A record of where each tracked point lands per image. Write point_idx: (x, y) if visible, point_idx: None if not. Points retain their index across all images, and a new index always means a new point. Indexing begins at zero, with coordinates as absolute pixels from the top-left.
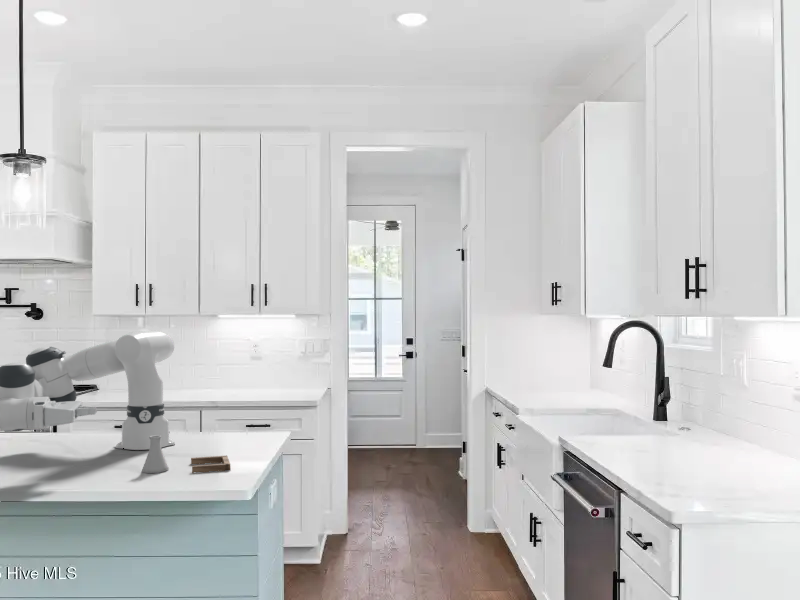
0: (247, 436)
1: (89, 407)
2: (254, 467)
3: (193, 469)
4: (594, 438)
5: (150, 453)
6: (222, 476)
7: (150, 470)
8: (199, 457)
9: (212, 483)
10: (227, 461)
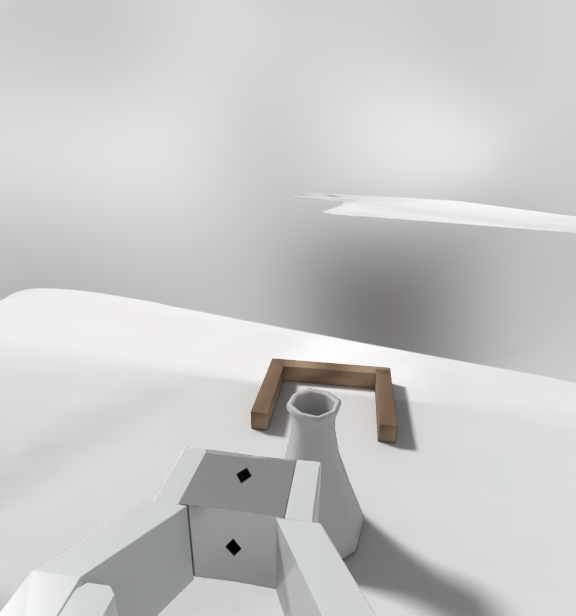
0: (9, 316)
1: (182, 509)
2: (369, 352)
3: (396, 430)
4: (343, 210)
5: (330, 479)
6: (455, 401)
7: (354, 535)
8: (260, 397)
9: (543, 426)
10: (352, 367)
